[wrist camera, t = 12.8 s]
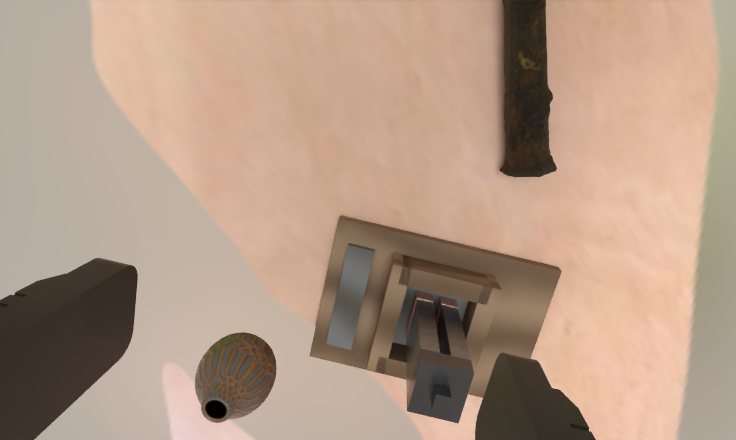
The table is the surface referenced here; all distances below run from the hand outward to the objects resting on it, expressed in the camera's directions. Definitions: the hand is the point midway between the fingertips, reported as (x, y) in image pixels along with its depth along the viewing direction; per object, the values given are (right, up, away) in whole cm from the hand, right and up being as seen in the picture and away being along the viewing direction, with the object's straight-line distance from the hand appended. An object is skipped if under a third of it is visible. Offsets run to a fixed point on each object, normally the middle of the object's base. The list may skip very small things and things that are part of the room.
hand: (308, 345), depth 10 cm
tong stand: (+7, -6, +34) cm, 35 cm away
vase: (-10, -10, +37) cm, 40 cm away
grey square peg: (+7, -6, +33) cm, 34 cm away
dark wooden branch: (+13, +16, +28) cm, 35 cm away
